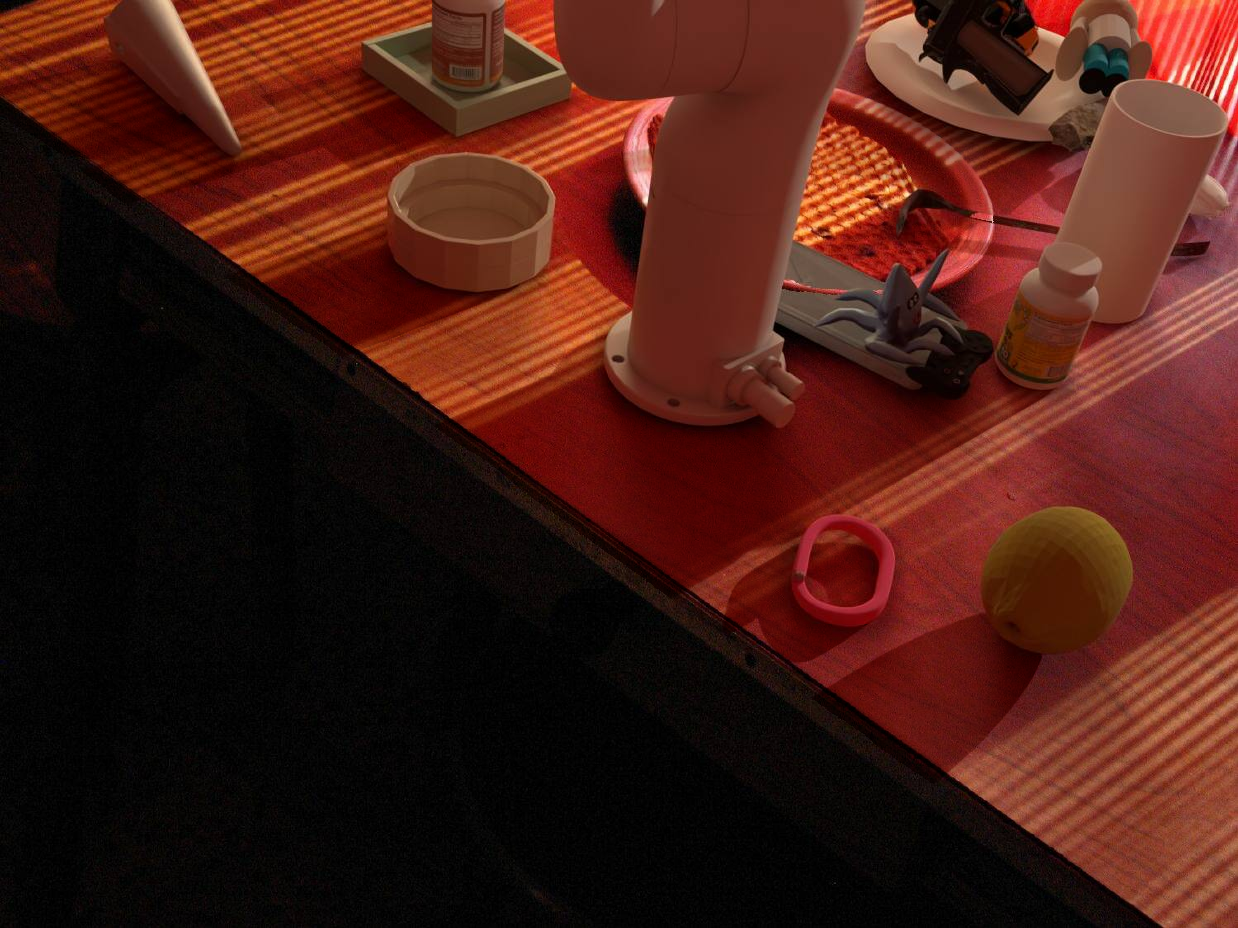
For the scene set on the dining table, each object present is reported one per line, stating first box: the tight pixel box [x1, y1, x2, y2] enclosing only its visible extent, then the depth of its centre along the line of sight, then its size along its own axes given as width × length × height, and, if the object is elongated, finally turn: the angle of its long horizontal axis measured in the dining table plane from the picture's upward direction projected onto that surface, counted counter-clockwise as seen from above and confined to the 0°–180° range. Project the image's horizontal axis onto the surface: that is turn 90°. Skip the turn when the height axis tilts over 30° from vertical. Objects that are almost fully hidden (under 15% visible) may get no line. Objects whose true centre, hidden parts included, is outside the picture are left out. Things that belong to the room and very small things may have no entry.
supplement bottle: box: [994, 242, 1102, 391], centre depth 97 cm, size 5×5×10 cm
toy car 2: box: [910, 0, 1040, 57], centre depth 132 cm, size 12×12×3 cm
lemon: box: [979, 506, 1134, 655], centre depth 79 cm, size 11×8×8 cm
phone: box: [774, 239, 969, 391], centre depth 102 cm, size 8×16×1 cm, turn 54°
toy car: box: [1189, 173, 1233, 221], centre depth 120 cm, size 5×12×4 cm, turn 44°
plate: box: [864, 13, 1105, 144], centre depth 131 cm, size 25×25×2 cm
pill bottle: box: [431, 0, 506, 92], centre depth 118 cm, size 6×6×11 cm
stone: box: [1048, 97, 1110, 153], centre depth 122 cm, size 13×5×3 cm, turn 136°
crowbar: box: [895, 188, 1211, 257], centre depth 112 cm, size 26×2×5 cm
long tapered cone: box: [102, 0, 243, 158], centre depth 114 cm, size 6×6×19 cm
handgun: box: [918, 0, 1054, 116], centre depth 127 cm, size 3×19×12 cm
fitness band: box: [790, 514, 896, 628], centre depth 83 cm, size 8×6×2 cm
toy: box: [1055, 0, 1154, 97], centre depth 130 cm, size 8×6×15 cm
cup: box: [1053, 78, 1230, 325], centre depth 103 cm, size 8×8×16 cm
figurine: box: [813, 247, 995, 401], centre depth 95 cm, size 10×12×8 cm
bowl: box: [386, 151, 557, 293], centre depth 102 cm, size 12×12×4 cm
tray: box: [360, 21, 573, 138], centre depth 121 cm, size 14×13×3 cm
